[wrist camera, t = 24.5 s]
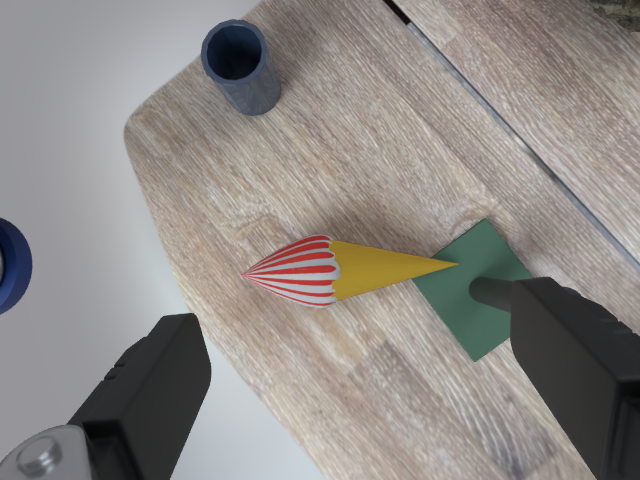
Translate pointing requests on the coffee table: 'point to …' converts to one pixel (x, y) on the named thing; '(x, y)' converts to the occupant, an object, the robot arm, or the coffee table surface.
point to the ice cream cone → (334, 270)
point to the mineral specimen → (619, 12)
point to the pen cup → (242, 66)
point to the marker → (496, 292)
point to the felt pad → (453, 288)
